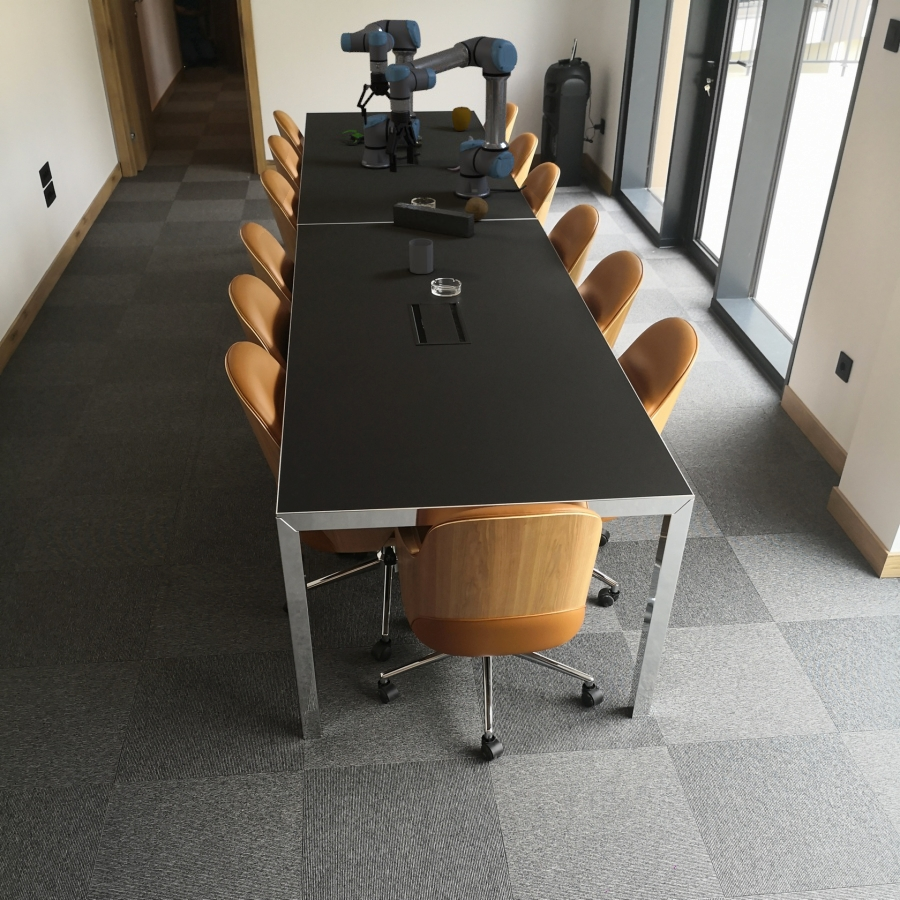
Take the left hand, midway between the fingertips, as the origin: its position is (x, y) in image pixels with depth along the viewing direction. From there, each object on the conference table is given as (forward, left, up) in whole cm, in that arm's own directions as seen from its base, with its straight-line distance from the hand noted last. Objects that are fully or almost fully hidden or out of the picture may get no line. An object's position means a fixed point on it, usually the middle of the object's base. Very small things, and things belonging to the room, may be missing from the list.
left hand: (381, 124), depth 376 cm
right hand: (+34, +36, -6) cm, 50 cm away
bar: (+32, +50, -28) cm, 66 cm away
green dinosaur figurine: (-66, -62, -28) cm, 94 cm away
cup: (+70, +72, -28) cm, 105 cm away
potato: (+10, +56, -28) cm, 64 cm away
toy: (-47, +12, -28) cm, 56 cm away
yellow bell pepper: (-118, -37, -28) cm, 127 cm away
